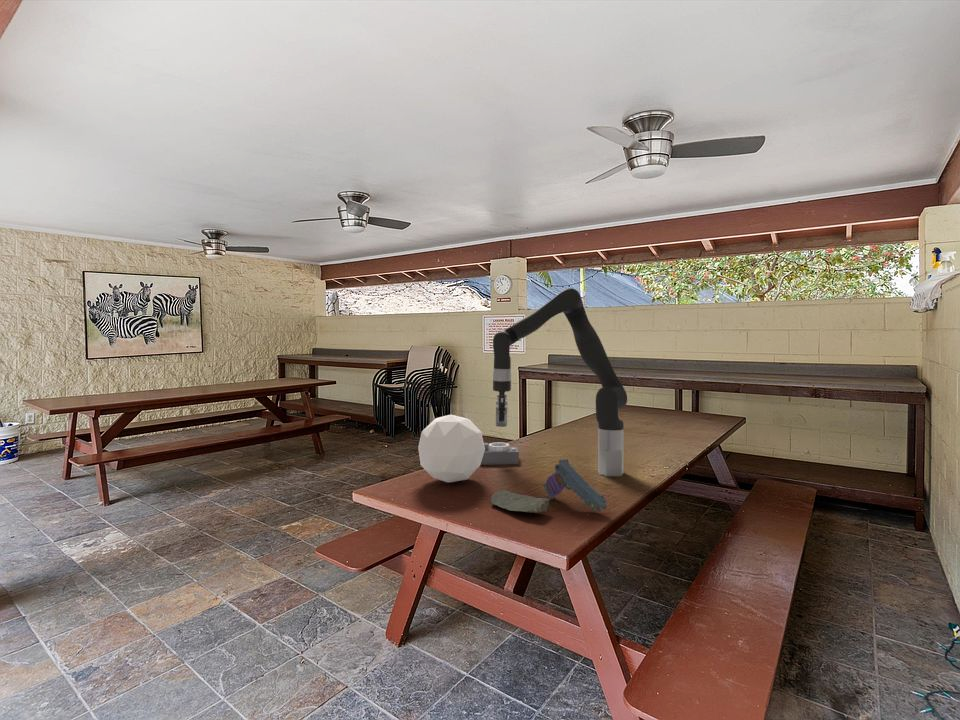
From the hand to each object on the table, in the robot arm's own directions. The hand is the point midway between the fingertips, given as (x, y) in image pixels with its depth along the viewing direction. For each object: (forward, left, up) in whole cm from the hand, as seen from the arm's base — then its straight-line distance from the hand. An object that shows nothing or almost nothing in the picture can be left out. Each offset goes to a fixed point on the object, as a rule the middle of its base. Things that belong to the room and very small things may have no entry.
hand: (501, 419), depth 208 cm
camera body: (0, +1, -18) cm, 19 cm away
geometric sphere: (-27, +19, -19) cm, 38 cm away
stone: (-58, 0, -19) cm, 61 cm away
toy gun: (-49, -18, -21) cm, 57 cm away
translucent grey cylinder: (0, 0, -2) cm, 2 cm away
